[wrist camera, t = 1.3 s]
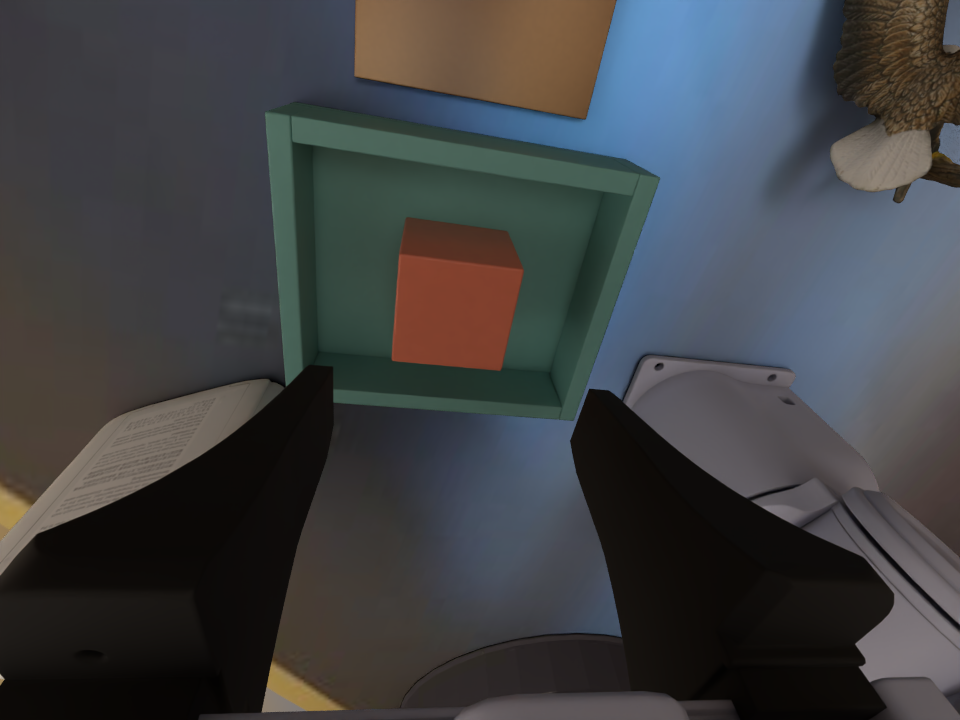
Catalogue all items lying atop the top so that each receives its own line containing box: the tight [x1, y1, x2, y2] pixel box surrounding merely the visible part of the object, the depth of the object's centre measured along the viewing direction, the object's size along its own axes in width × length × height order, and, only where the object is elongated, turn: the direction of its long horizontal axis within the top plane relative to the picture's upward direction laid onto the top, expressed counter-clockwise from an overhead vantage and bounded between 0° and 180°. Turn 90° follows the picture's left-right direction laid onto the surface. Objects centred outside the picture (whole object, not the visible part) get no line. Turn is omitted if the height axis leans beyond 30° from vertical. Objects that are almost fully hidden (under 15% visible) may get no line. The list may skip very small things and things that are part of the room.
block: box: [391, 217, 524, 371], centre depth 19 cm, size 4×4×4 cm
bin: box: [265, 102, 660, 421], centre depth 20 cm, size 14×12×4 cm
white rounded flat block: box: [0, 379, 284, 679], centre depth 20 cm, size 10×4×12 cm, turn 105°
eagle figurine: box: [830, 0, 960, 203], centre depth 16 cm, size 8×7×9 cm
